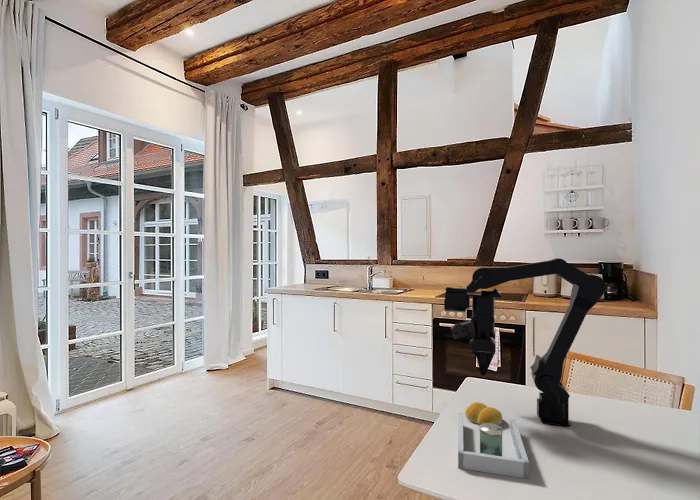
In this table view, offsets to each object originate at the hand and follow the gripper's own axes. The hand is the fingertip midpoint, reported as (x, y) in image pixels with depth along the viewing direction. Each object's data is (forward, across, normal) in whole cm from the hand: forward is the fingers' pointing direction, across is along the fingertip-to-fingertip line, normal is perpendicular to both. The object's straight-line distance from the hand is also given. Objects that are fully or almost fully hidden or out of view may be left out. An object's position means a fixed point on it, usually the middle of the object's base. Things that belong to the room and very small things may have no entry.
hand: (483, 370), depth 104 cm
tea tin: (+11, +25, +2) cm, 27 cm away
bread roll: (+11, +6, 0) cm, 13 cm away
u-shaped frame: (+11, +21, +2) cm, 24 cm away
